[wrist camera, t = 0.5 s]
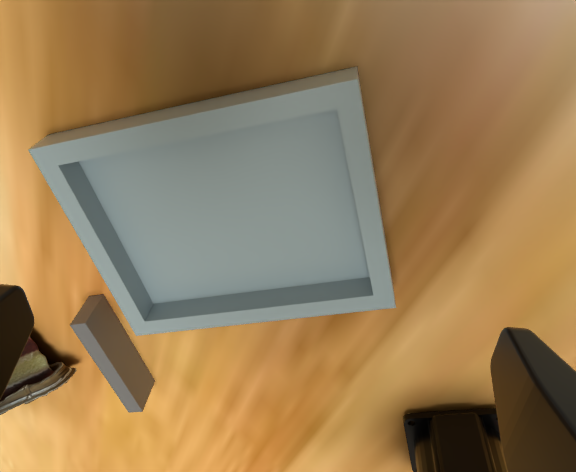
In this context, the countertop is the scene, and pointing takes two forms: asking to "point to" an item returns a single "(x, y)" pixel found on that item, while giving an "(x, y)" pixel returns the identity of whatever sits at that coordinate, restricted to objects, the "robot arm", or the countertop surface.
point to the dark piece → (33, 378)
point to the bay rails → (113, 352)
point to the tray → (230, 206)
